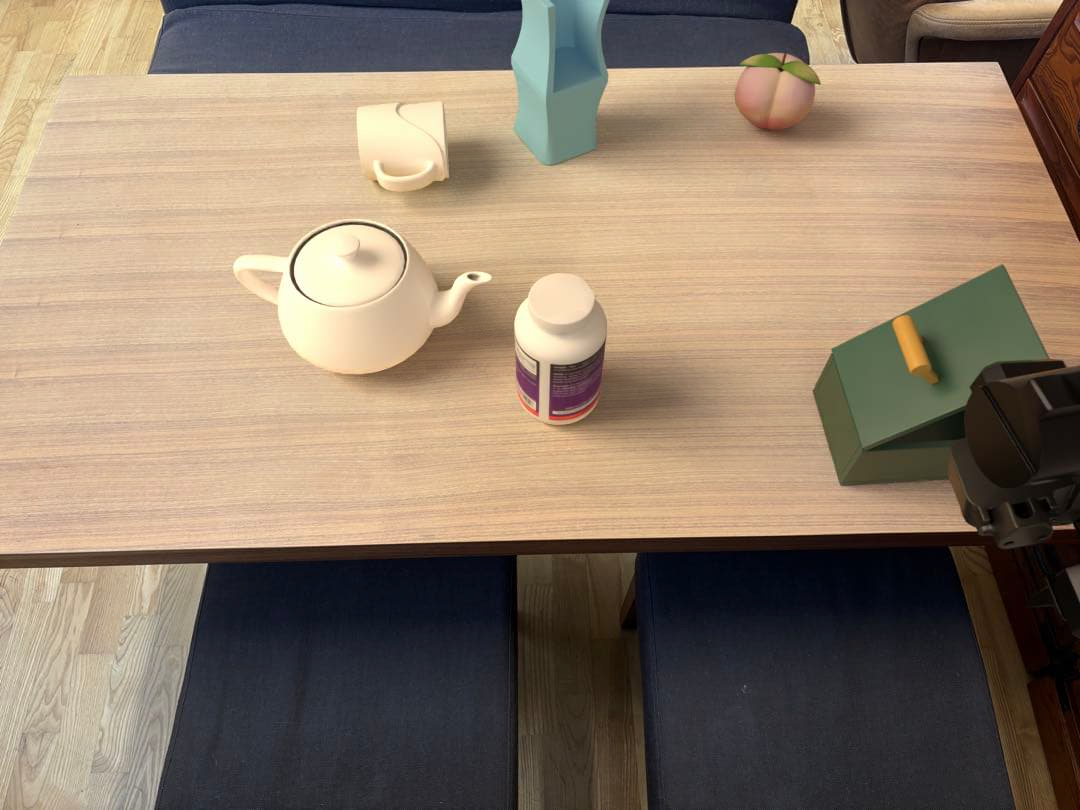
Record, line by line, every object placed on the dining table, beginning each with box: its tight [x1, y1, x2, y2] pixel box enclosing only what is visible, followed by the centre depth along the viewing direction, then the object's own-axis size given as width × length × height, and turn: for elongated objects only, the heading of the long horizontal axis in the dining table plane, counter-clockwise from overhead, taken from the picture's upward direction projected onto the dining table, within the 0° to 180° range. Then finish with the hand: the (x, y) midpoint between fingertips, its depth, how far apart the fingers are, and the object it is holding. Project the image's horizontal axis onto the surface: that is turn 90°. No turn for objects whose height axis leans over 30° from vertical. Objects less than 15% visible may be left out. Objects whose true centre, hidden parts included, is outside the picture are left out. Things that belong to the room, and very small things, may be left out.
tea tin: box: [812, 352, 966, 486], centre depth 77 cm, size 14×10×6 cm
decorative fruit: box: [734, 52, 822, 131], centre depth 100 cm, size 9×8×10 cm
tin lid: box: [830, 264, 1051, 450], centre depth 69 cm, size 15×10×4 cm
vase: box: [510, 0, 611, 166], centre depth 94 cm, size 8×8×20 cm
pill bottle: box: [513, 272, 608, 426], centre depth 76 cm, size 8×8×14 cm
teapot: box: [232, 218, 493, 375], centre depth 81 cm, size 25×16×12 cm, turn 82°
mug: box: [356, 100, 450, 193], centre depth 95 cm, size 12×9×8 cm
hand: (1008, 543), depth 61 cm, fingers open, 9 cm apart
